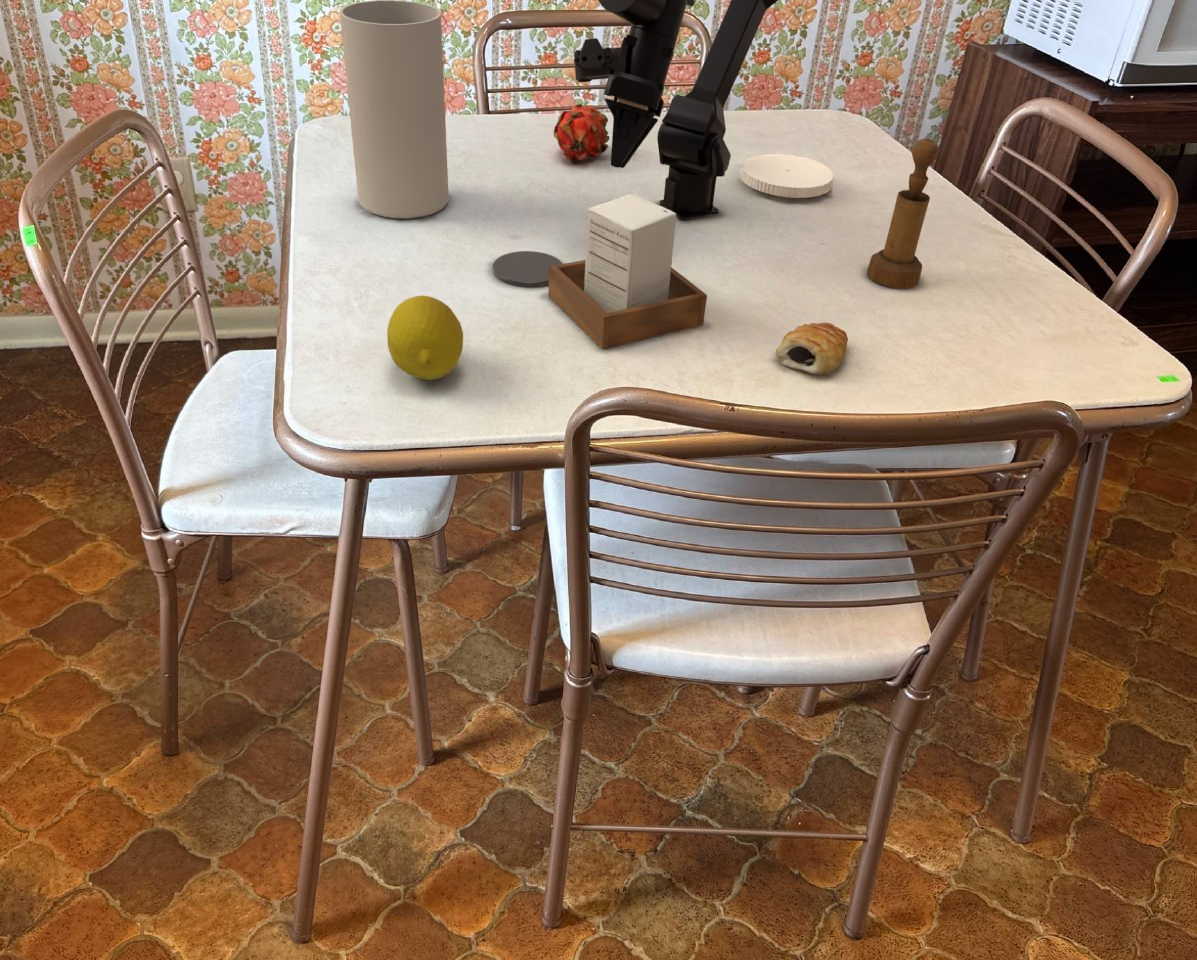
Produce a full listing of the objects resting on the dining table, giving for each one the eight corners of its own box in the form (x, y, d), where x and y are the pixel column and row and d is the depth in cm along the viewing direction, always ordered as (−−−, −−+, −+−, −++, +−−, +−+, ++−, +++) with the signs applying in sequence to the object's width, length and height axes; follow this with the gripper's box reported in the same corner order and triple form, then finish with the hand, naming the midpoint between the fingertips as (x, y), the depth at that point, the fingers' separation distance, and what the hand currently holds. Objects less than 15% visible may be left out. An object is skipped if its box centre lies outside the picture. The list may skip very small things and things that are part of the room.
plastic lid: (849, 194, 151) (853, 178, 150) (782, 211, 145) (785, 194, 143) (787, 164, 160) (790, 148, 159) (721, 178, 154) (723, 162, 152)
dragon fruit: (590, 153, 164) (579, 189, 155) (549, 120, 161) (536, 156, 152) (622, 116, 158) (613, 152, 150) (580, 81, 155) (568, 116, 147)
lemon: (463, 397, 101) (461, 328, 97) (386, 397, 101) (379, 328, 96) (465, 343, 110) (463, 277, 105) (394, 343, 109) (388, 277, 104)
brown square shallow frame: (644, 277, 125) (646, 247, 123) (703, 325, 116) (707, 295, 114) (548, 296, 120) (548, 266, 117) (602, 349, 111) (604, 317, 108)
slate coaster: (544, 250, 130) (544, 246, 129) (576, 279, 124) (576, 275, 123) (481, 262, 126) (481, 257, 126) (510, 292, 120) (510, 288, 120)
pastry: (806, 331, 116) (813, 301, 114) (859, 350, 114) (867, 321, 111) (770, 362, 110) (776, 332, 108) (825, 384, 107) (832, 353, 105)
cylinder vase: (341, 209, 137) (319, 15, 121) (389, 179, 146) (374, -5, 131) (420, 227, 133) (408, 30, 118) (464, 196, 143) (458, 9, 127)
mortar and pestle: (920, 272, 131) (958, 136, 120) (916, 293, 126) (955, 153, 115) (870, 263, 132) (902, 127, 121) (863, 283, 127) (897, 143, 116)
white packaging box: (624, 290, 122) (631, 191, 114) (668, 313, 118) (679, 212, 110) (580, 308, 118) (585, 207, 110) (625, 332, 114) (633, 229, 106)
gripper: (595, 27, 127) (563, 150, 132) (580, 3, 109) (544, 146, 114) (678, 51, 127) (644, 174, 132) (677, 32, 109) (637, 174, 114)
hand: (617, 167), depth 123 cm, fingers open, 9 cm apart
